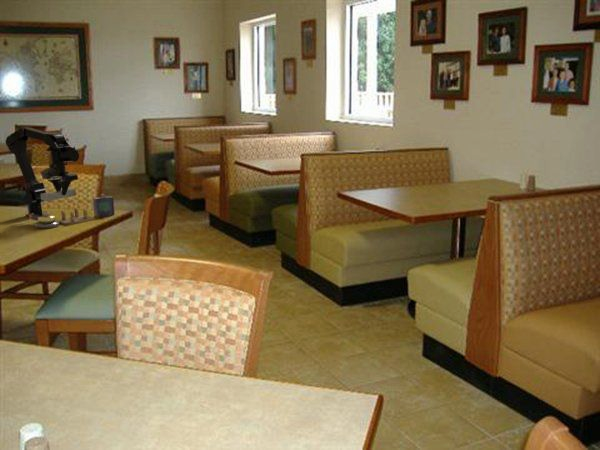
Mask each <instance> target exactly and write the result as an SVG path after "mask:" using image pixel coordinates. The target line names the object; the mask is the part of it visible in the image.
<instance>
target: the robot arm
mask: <svg viewBox="0 0 600 450" xmlns="http://www.w3.org/2000/svg"><path fill="white" fill-rule="evenodd" d="M30 138H31V139H34V140H37V141H38V140H39V141H41V142H43V143H44V144H45V145H46V146H48V148H46V152H50V159H51V160H50V161H51V163H49V164H48V168H45V169H44V170H41V171H40V175H41V177H42V179H43V180H47V181H48V182H50V183H51V184H52V185H53V187H54V189H55V191H60V190H62V193H63V195H66V192H67V190H68V189H69V187H70V185H71V183H72V182H73V181H78V180H79V177H78V176H79V175H78V174H77V173H74V172H73V173H71V172H70V173H69V171H66V167H67V165H68V163H69V162H71V163H72V162H73V163H75V162H78V160H79V159H80V153H79V151H78V149H76V147H75V146H71V145H70V143H69V142H68V140H67V139H66V137H65V136H64V134H63V133H62V132H47V131H43V130H39V129H36V128H33V127H30V126H21V127H19V128H18V129H17V130H16V131H14V132H12V133H11V134H9V135H8V136H6V139H5V144H6V147H7V148H8V150H9V151H10V152H11V153H12V154H13V155H14V156H15V158H16V161H17V164H18V166H19V170H20V171H21V174H22V177H23V179H24V182H25V187H24V188H25V189H24V192H25V194H24V196H23V198H22V200H21V202H22V203H23V205H27V212H28V213H27V214H25V216H26V217H29V215H30V214H38V215H43V207H42V202H43V203H45V201H43V200H41V194H42V193H47V192H46V191H47V188H45V184H44V182H40V181H39V180H37V176H36V175H35V172H34V169H33V166H32V164H31V161H30V159H29V157H28V154H27V147H28V144H27V142H28V141H30Z"/></svg>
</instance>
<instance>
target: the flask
mask: <svg viewBox="0 0 600 450" xmlns="http://www.w3.org/2000/svg"><path fill="white" fill-rule="evenodd" d="M92 202H93V213H94V214H93V216H94V218H100V217H103V218H104V217H110V216H115V206H114V196H112V195H111V196H110V195H104V193H101V194H100V197H94V198H93V199H92Z"/></svg>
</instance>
